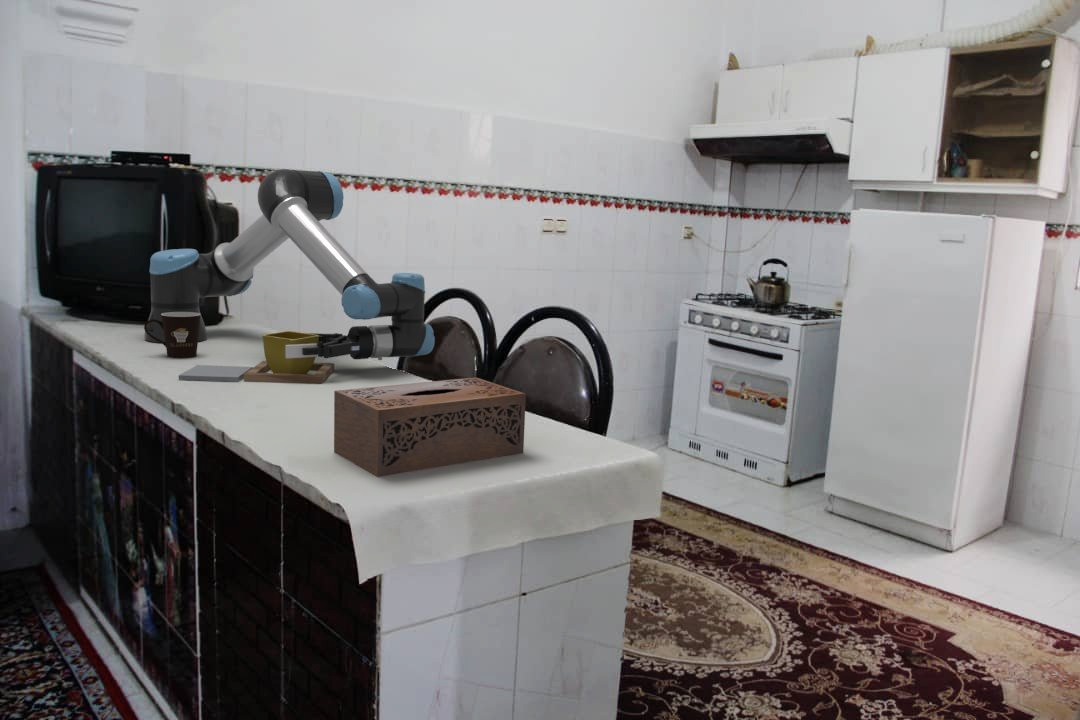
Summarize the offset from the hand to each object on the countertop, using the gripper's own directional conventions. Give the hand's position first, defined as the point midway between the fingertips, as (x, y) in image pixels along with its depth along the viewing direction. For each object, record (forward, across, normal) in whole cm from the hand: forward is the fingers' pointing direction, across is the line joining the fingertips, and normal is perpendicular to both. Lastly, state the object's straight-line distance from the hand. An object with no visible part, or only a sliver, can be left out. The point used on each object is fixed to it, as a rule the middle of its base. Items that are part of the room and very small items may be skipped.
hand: (275, 346), depth 191 cm
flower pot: (-3, 0, -7) cm, 7 cm away
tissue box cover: (-4, -67, -7) cm, 68 cm away
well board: (-3, 0, -6) cm, 7 cm away
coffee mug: (+14, +32, -7) cm, 36 cm away
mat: (+11, +5, -6) cm, 14 cm away
